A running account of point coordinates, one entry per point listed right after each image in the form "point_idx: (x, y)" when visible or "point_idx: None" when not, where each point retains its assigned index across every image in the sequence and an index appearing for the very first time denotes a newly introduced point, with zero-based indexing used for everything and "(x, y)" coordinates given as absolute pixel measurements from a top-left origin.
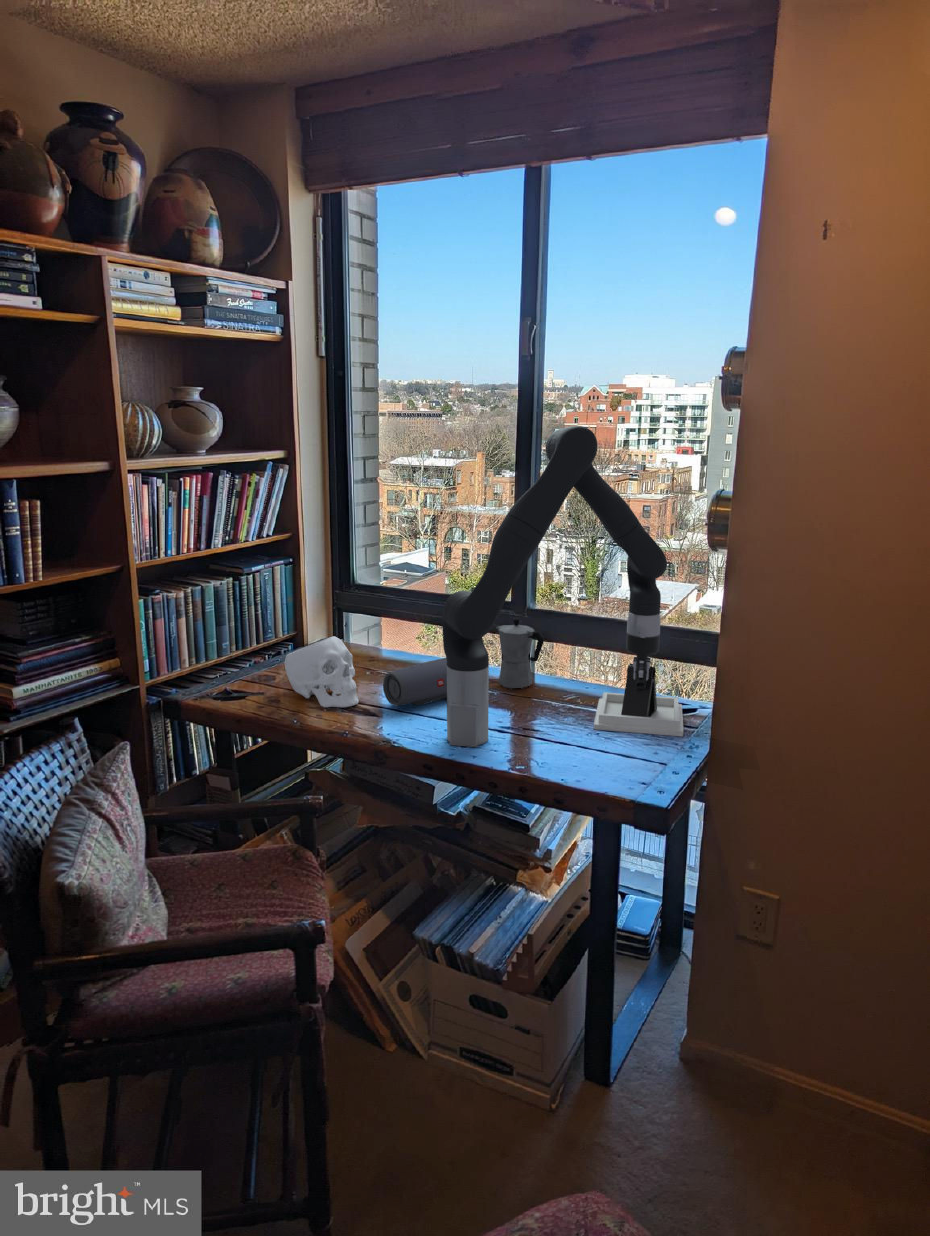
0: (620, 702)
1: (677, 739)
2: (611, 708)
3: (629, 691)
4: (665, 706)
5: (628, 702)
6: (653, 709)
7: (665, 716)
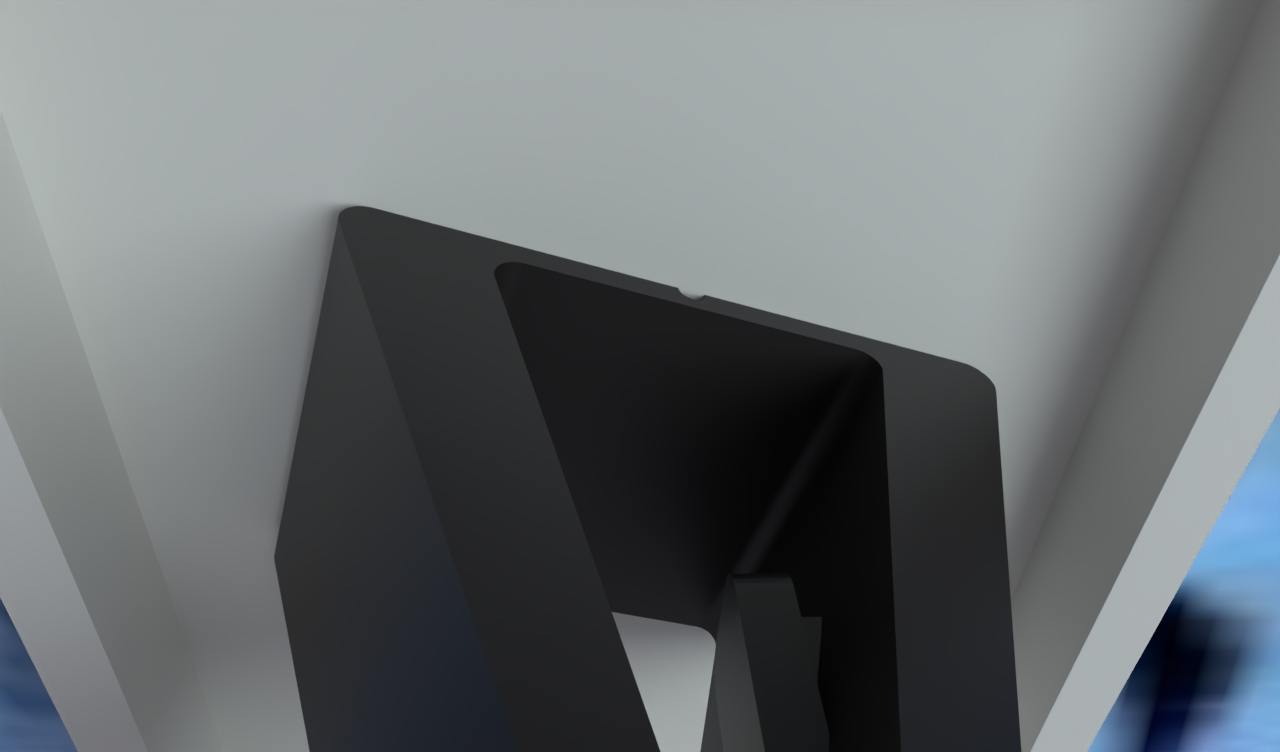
0: (1194, 173)
1: (52, 742)
2: (854, 3)
3: (448, 723)
4: None
5: (381, 509)
6: None
7: None
